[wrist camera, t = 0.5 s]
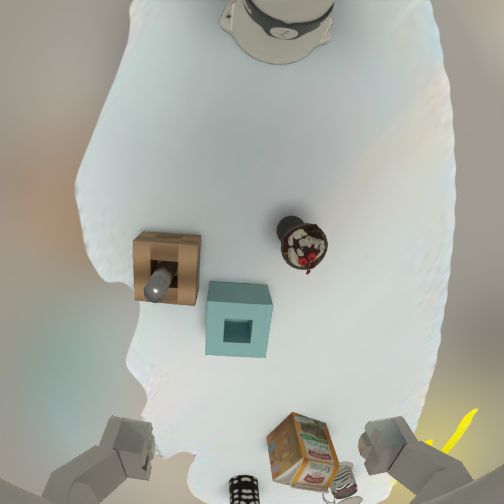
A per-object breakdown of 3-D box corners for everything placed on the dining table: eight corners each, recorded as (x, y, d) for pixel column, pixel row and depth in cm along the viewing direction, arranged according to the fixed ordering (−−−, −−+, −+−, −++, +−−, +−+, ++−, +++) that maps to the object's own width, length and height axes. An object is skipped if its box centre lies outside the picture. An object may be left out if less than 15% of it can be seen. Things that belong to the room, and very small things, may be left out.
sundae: (278, 254, 54) (295, 290, 39) (266, 218, 52) (280, 241, 37) (314, 243, 53) (343, 273, 39) (304, 206, 51) (332, 224, 37)
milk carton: (266, 436, 67) (275, 498, 49) (292, 411, 65) (307, 476, 47) (299, 446, 69) (312, 503, 51) (325, 423, 67) (345, 482, 49)
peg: (161, 254, 51) (143, 281, 40) (178, 255, 51) (164, 283, 40) (161, 271, 52) (143, 301, 41) (178, 272, 52) (165, 303, 41)
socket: (143, 231, 51) (133, 240, 45) (200, 235, 52) (197, 245, 46) (143, 285, 54) (134, 300, 48) (198, 290, 55) (195, 305, 49)
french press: (352, 472, 77) (373, 532, 53) (317, 482, 77) (333, 544, 53) (354, 458, 74) (378, 522, 50) (316, 468, 74) (334, 535, 50)
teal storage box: (210, 281, 54) (207, 301, 47) (267, 284, 55) (273, 305, 47) (208, 330, 57) (205, 354, 49) (261, 333, 58) (265, 357, 50)
